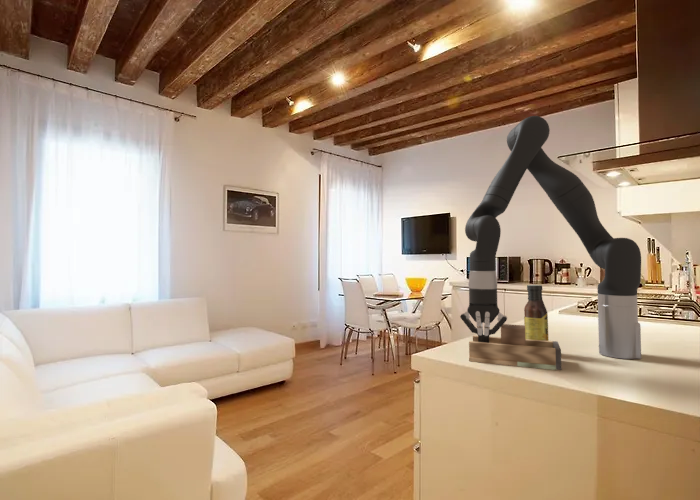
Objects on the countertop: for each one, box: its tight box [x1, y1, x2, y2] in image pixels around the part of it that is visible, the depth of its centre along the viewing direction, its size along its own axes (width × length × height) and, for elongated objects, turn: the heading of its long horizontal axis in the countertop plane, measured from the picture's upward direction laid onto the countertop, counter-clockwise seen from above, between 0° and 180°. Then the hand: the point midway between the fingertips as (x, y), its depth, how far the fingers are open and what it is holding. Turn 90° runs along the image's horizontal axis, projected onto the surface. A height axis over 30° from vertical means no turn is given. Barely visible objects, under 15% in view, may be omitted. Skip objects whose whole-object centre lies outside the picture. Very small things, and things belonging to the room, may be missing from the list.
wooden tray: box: [468, 335, 562, 371], centre depth 102 cm, size 22×11×5 cm, turn 65°
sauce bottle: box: [523, 284, 550, 341], centre depth 110 cm, size 6×6×20 cm
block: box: [500, 323, 526, 346], centre depth 102 cm, size 6×6×8 cm
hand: (483, 348), depth 106 cm, fingers closed
